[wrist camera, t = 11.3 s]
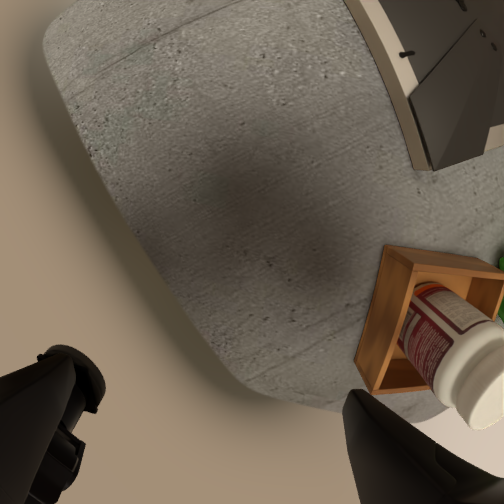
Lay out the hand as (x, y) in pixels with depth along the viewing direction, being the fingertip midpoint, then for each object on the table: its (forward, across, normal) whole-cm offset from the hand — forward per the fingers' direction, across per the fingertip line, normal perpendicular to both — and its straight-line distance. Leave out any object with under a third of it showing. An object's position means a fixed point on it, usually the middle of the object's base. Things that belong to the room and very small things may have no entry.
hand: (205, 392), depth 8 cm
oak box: (+13, -16, +2) cm, 21 cm away
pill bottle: (+13, -16, +3) cm, 20 cm away
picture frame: (+13, -18, -20) cm, 30 cm away
